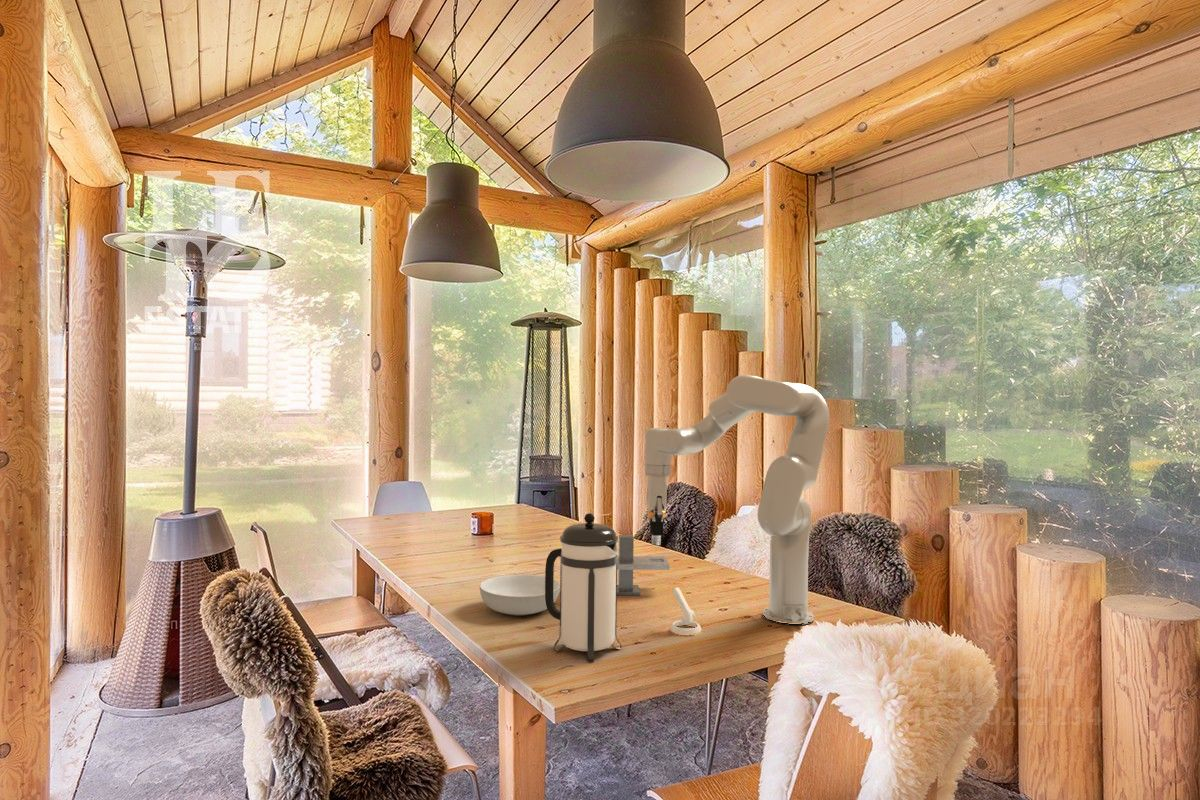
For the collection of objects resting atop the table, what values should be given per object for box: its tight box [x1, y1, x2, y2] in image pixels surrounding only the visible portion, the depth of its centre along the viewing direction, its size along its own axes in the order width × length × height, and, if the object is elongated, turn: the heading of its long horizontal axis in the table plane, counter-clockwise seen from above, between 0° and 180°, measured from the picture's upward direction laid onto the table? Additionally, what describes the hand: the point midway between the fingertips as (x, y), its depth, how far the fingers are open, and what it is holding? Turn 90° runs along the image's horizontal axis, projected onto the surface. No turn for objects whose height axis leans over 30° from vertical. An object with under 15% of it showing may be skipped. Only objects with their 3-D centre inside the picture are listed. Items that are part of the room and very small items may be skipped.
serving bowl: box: [479, 573, 560, 616], centre depth 177 cm, size 21×21×7 cm
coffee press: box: [544, 512, 623, 662], centre depth 150 cm, size 17×16×30 cm
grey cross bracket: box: [617, 534, 670, 596], centre depth 196 cm, size 10×16×16 cm, turn 92°
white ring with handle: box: [669, 586, 702, 634], centre depth 164 cm, size 8×12×7 cm
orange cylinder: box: [647, 509, 667, 546], centre depth 197 cm, size 5×5×10 cm
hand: (656, 533), depth 196 cm, fingers closed on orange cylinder, 4 cm apart
